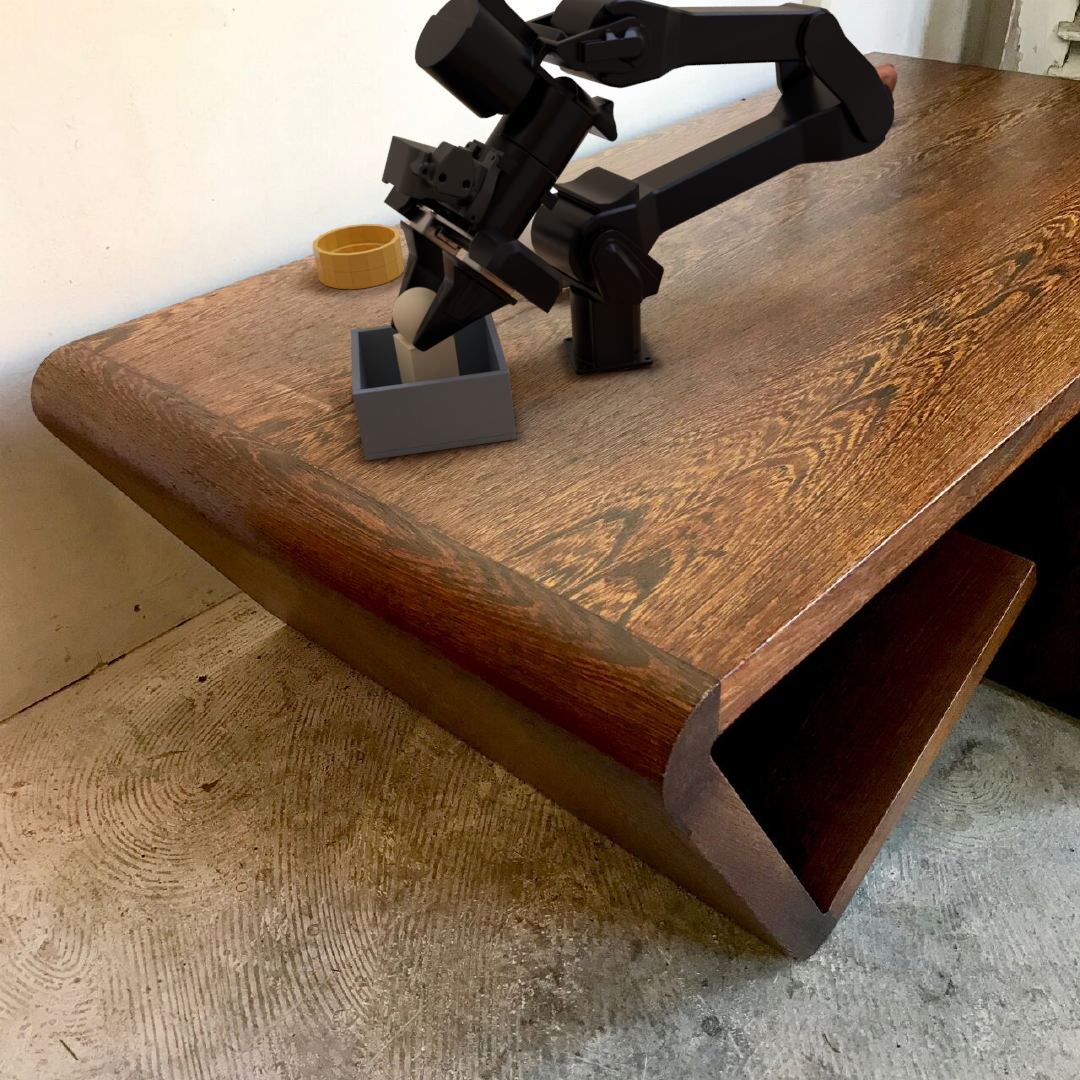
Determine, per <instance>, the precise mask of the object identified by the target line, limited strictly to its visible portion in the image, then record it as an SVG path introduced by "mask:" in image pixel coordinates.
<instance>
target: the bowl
mask: <svg viewBox="0 0 1080 1080" xmlns="http://www.w3.org/2000/svg"><path fill="white" fill-rule="evenodd" d="M312 251H313V256H314V257H313V258H314V260H315V261H314V262H315V266H316V271H317V277H318V281H319V282H320V283H321V284H323V285H324V286H325V287H329V288H333V289H336V290H361V289H367V288H368V289H369V288H373V287H377V286H380V285H385V284H387V283H389V282H391V281H394V280H395V279H397V278H399V277H400V276H401V275H402V274H403V272H405V269H406V267H405V262H404V255H403V248H402V241H401V236H400V230H398V229H397V228H396V227H393V226H391V225H387V224H380V223H360V224H359V223H358V224H351V225H345V226H342V227H338V228H334V229H331V230H329V231H326V232H324V233H321V234H320V235H318V237H316V238H315V239H314V240H313V241H312Z"/></svg>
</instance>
